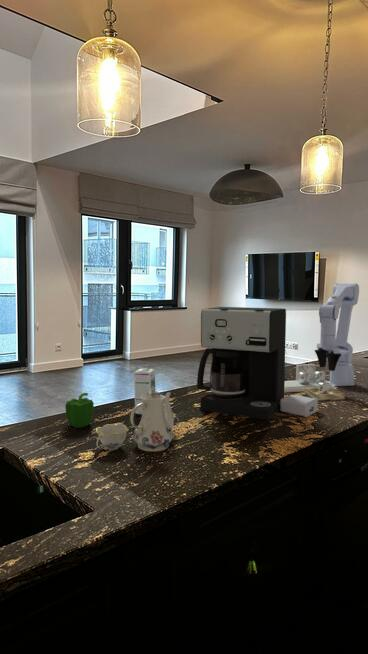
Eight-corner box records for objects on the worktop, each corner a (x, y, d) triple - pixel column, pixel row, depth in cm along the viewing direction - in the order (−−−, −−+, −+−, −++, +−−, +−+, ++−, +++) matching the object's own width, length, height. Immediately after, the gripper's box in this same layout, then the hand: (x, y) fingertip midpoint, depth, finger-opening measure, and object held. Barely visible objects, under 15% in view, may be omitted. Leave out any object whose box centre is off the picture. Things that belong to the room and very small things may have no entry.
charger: (278, 403, 163) (317, 411, 153) (264, 409, 156) (305, 417, 146) (278, 391, 162) (317, 398, 153) (265, 395, 155) (305, 403, 146)
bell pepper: (66, 431, 133) (65, 398, 132) (65, 422, 141) (64, 391, 140) (95, 428, 135) (94, 396, 134) (93, 420, 143) (92, 389, 142)
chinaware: (159, 430, 139) (155, 376, 138) (202, 436, 128) (198, 378, 128) (87, 457, 117) (81, 394, 117) (132, 467, 107) (126, 397, 106)
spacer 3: (326, 393, 176) (327, 381, 176) (331, 395, 172) (331, 384, 171) (315, 393, 176) (316, 382, 175) (320, 396, 171) (320, 384, 171)
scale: (319, 383, 196) (320, 363, 196) (334, 390, 184) (335, 369, 183) (271, 385, 192) (272, 365, 192) (283, 392, 180) (284, 371, 179)
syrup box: (151, 415, 149) (151, 371, 148) (134, 414, 150) (133, 371, 149) (155, 410, 155) (155, 368, 153) (139, 409, 156) (139, 367, 154)
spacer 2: (322, 381, 190) (322, 371, 190) (327, 383, 186) (327, 373, 186) (312, 381, 190) (312, 371, 189) (317, 384, 185) (317, 373, 185)
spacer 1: (306, 382, 189) (306, 371, 189) (311, 384, 185) (311, 373, 184) (296, 382, 188) (296, 371, 188) (301, 384, 184) (301, 374, 184)
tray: (330, 392, 180) (330, 387, 180) (345, 399, 169) (345, 393, 169) (304, 393, 178) (304, 388, 178) (317, 400, 167) (317, 395, 167)
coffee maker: (189, 409, 156) (189, 308, 153) (212, 396, 173) (212, 305, 170) (267, 420, 143) (269, 310, 140) (284, 405, 160) (286, 307, 157)
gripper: (310, 333, 185) (309, 365, 186) (327, 337, 170) (326, 372, 172) (326, 332, 186) (325, 365, 187) (344, 336, 172) (343, 372, 173)
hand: (327, 368), depth 179 cm, fingers open, 7 cm apart
